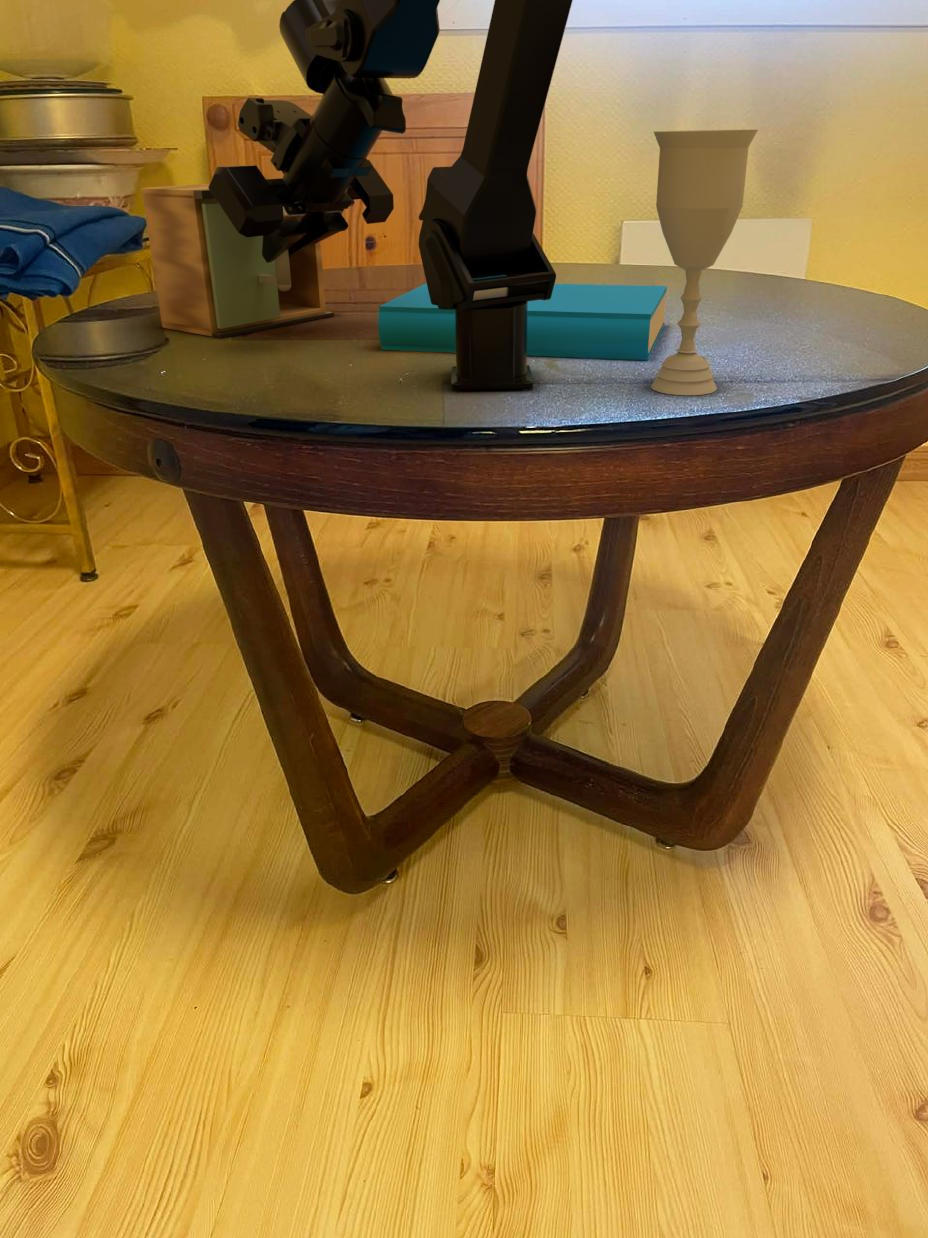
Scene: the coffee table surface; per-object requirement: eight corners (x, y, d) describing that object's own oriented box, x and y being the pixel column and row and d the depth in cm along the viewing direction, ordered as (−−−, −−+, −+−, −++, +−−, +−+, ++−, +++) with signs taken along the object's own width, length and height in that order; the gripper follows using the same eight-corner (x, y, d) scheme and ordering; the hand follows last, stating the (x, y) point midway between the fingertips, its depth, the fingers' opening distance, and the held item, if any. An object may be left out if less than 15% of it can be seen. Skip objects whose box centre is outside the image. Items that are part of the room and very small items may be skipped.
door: (307, 321, 101) (296, 199, 95) (247, 333, 95) (232, 205, 90) (276, 317, 103) (265, 198, 98) (217, 328, 98) (201, 203, 93)
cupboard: (334, 315, 108) (324, 181, 102) (220, 338, 98) (201, 190, 92) (276, 307, 114) (263, 179, 108) (162, 327, 103) (141, 187, 97)
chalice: (747, 386, 76) (776, 129, 68) (701, 403, 72) (727, 130, 64) (667, 372, 81) (685, 130, 73) (619, 388, 76) (633, 131, 68)
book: (428, 280, 104) (667, 281, 98) (430, 322, 106) (664, 325, 100) (375, 307, 89) (652, 310, 83) (378, 355, 91) (650, 361, 85)
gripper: (366, 66, 93) (299, 189, 105) (206, 59, 81) (150, 200, 92) (430, 157, 92) (356, 271, 104) (278, 165, 80) (213, 294, 91)
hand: (272, 257), depth 98 cm, fingers closed on door
